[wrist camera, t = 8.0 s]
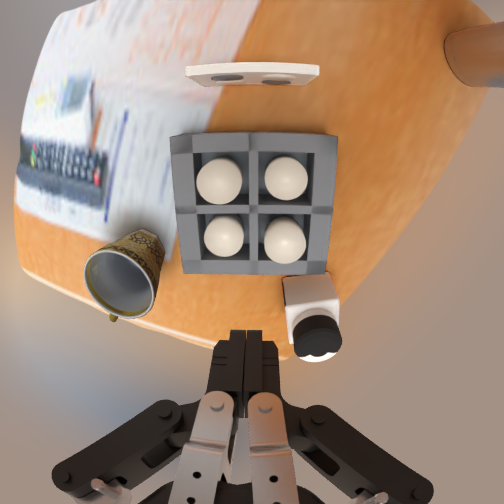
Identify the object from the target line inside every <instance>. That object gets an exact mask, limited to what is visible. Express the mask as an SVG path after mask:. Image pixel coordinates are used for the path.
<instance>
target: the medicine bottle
mask: <svg viewBox="0 0 504 504" xmlns="http://www.w3.org/2000/svg"><path fill="white" fill-rule="evenodd" d="M282 287H283V295H284V304H285V312H286V321H287V329H288V338H289V343H290V344H294V351H295V353H296V355H297V356H298V357H299V358H301V359H303V360H305V361H309V362H320V361H323V360H326V359H329V358H331V357H332V356H333V355H335V354H336V353H337V352H338V350H339V349H340V347H341V345H342V337H341V334H340V331H339V328H338V327H339V297H338V295H337V292H336V289H335V287H334V284H333V282H332V279H331V277H330V274H329V272H325V275H300V276H293V277H285V278H282Z"/></svg>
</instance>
